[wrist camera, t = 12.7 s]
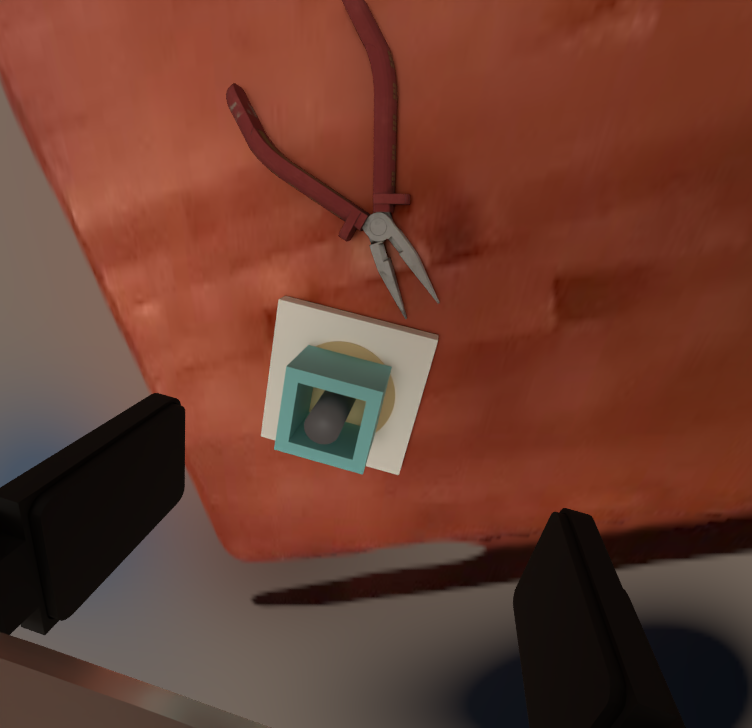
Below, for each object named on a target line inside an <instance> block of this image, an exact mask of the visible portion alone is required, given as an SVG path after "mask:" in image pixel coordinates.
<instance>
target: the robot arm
mask: <svg viewBox="0 0 752 728" xmlns="http://www.w3.org/2000/svg"><path fill="white" fill-rule="evenodd" d="M184 483H185V409H184V407H183V406H181V404H180V401H179V400H178V399H177V398H173V397H169V396H166V395H162V394H159V393H154V394H151V395H150V396H148V397H146V398H145V399H143V400H141V401H140V402H138V403H137V404H135V405H133V406H132V407H130V408H129V409H127V410H125V411H124V412H122V413H120V414H119V415H117V416H116V417H114V418H112V419H111V420H109V421H107V422H106V423H104V424H103V425H101V426H99V427H98V428H96V429H95V430H93V431H92V432H90V433H88V434H86V435H85V436H83V437H82V438H80V439H78V440H77V441H75V442H73V443H72V444H70V445H69V446H67V447H65V448H64V449H62V450H60V451H59V452H58V453H56V454H54V455H52V456H51V457H49V458H47V459H46V460H44V461H43V462H41V463H39V464H38V465H36V466H34V467H33V468H31V469H30V470H28V471H26V472H25V473H23V474H22V475H20V476H18V477H17V478H15V479H14V480H12V481H10V482H9V483H7V484H5V485H4V486H2V487H1V488H0V728H271V727H268V726H265V725H262V724H260V723H257V722H254V721H251V720H248V719H246V718H243V717H240V716H237V715H234V714H231V713H229V712H226V711H223V710H220V709H218V708H215V707H212V706H209V705H207V704H204V703H201V702H198V701H196V700H193V699H190V698H187V697H184V696H182V695H179V694H176V693H173V692H170V691H167V690H165V689H162V688H159V687H157V686H154V685H151V684H148V683H145V682H142V681H140V680H137V679H134V678H131V677H128V676H125V675H123V674H120V673H117V672H114V671H111V670H108V669H106V668H103V667H100V666H97V665H94V664H92V663H89V662H86V661H83V660H80V659H77V658H75V657H72V656H69V655H66V654H63V653H60V652H57V651H55V650H52V649H49V648H46V647H44V646H40V645H38V644H35V643H32V642H28V641H25V640H22V639H19V638H16V637H13V636H10V634H11V633H12V632H13V631H14V630H15V629H16V628H17V627H18V626H19V625H20V624H21V627H23V628H26V629H29V630H31V631H34V632H37V633H40V634H43V635H46V634H47V633H48V631H49V630H50V629H51V628H52V627H53V626H54V625H55V624H56V623H57V622H58V621H59V620H61V621H62V620H66V619H67V618H69V617H70V616H71V615H72V614H73V613H74V612H75V611H76V610H77V609H78V608H79V607H80V606H81V605H82V604H83V603H84V602H85V601H86V600H87V599H88V597H89V596H90V595H91V594H92V593H93V592H94V591H95V590H96V589H97V588H98V587H99V586H100V585H101V584H102V583H103V582H104V581H105V579H106V578H107V577H108V576H109V575H110V574H111V573H112V572H113V571H114V570H115V569H116V568H117V567H118V566H119V565H120V563H121V562H122V561H123V560H124V559H125V558H126V557H127V556H128V555H129V554H130V553H131V552H132V551H133V550H134V549H135V548H136V547H137V545H138V544H139V543H140V542H141V541H142V540H143V539H144V538H145V537H146V536H147V535H148V534H149V533H150V532H151V531H152V529H154V527H155V526H156V525H157V524H158V523H159V522H160V521H161V520H162V519H163V518H164V517H165V516H166V515H167V514H168V513H169V511H170V510H171V509H172V508H173V507H174V506H175V505H176V504H177V503H178V502H179V500H180V499H181V497H182V495H183V492H184V487H185V484H184ZM513 608H514V616H515V623H516V630H517V638H518V645H519V653H520V660H521V667H522V675H523V682H524V690H525V697H526V704H527V712H528V719H529V726H530V728H686V727H685V725H684V723H683V721H682V718H681V716H680V713H679V711H678V709H677V707H676V704H675V702H674V700H673V698H672V695H671V693H670V690H669V688H668V686H667V683H666V681H665V679H664V677H663V674H662V672H661V670H660V668H659V665H658V663H657V660H656V658H655V656H654V653H653V651H652V649H651V646H650V644H649V642H648V640H647V637H646V635H645V633H644V630H643V628H642V626H641V623H640V621H639V619H638V617H637V614H636V612H635V610H634V607H633V605H632V603H631V600H630V598H629V596H628V594H627V593H626V591H625V590H624V589H623V588H622V585H621V583H620V581H619V578H618V576H617V573H616V571H615V569H614V566H613V564H612V562H611V559H610V557H609V555H608V552H607V550H606V548H605V545H604V543H603V541H602V538H601V536H600V534H599V531H598V529H597V526H596V524H595V522H594V520H593V518H592V516H590V515H588V514H585V513H581V512H578V511H574V510H571V509H567V508H563V509H562V510H561V511H560V512H559V513H558V512H553V513H552V514H551V516H550V518H549V520H548V522H547V524H546V526H545V528H544V530H543V533H542V535H541V537H540V539H539V541H538V543H537V545H536V547H535V549H534V551H533V553H532V555H531V558H530V560H529V562H528V564H527V566H526V568H525V570H524V572H523V574H522V576H521V578H520V580H519V583H518V585H517V587H516V589H515V592H514V597H513Z"/></svg>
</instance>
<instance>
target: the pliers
mask: <svg viewBox="0 0 752 728" xmlns="http://www.w3.org/2000/svg"><path fill="white" fill-rule="evenodd" d="M342 2H343V4H344V6H345V8H346V10H347V12H348V14H349V16H350V18H351V20H352V22H353V24H354V26H355V29H356V31H357V33H358V35H359V36H360V38H361V40H362V42H363V44H364V46H365V48H366V51H367V53H368V56H369V60H370V63H371V68H372V73H373V81H374V180H373V212H377V213H373V214H371V215H370V214H369V213H367V212H366V211H364V210H363V209H361V208H360V207H358V206H357V205H355V204H354V203H352V202H351V201H349V200H348V199H347V198H345V197H344V196H342V195H341V194H339V193H338V192H336V191H335V190H333V189H332V188H330V187H329V186H327V185H326V184H324V183H323V182H321V181H320V180H318V179H317V178H315V177H314V176H312V175H311V174H309V173H308V172H306V171H305V170H303V169H302V168H300V167H299V166H297V165H296V164H294V163H293V162H292V161H290V160H289V159H288V158H287V157H285V156H284V155H283V154H282V153H281V152H280V151H279V150H278V149H277V148H276V147H275V146H274V144H273V143H272V142H271V141H270V139H269V138H268V136H267V134H266V133H265V131H264V129H263V127H262V125H261V123H260V121H259V119H258V117H257V115H256V113H255V111H254V109H253V107H252V106H251V104H250V102H249V100H248V98H247V96H246V94H245V92H244V90H243V89H242V88H241V87H240V86H238V85H237V84H235V83H234V84H232V85H231V86H230V87H229V88H228V90H227V93H226V99H227V104H228V107H229V109H230V111H231V113H232V115H233V116H234V118H235V120H236V122H237V124H238V126H239V128H240V130H241V132H242V134H243V136H244V138H245V140H246V142H247V144H248V146H249V148H250V150H251V151H252V152H253V153H254V155H255V156H256V157H257V158H258V159H259V160H260V161H261V162H262V163H263V164H264V165H265V166H266V167H267V168H268V169H269V170H270V171H271V172H273V173H274V174H275V175H277V176H278V177H279V178H281V179H282V180H284V181H285V182H287V183H288V184H290V185H291V186H293V187H294V188H296V189H297V190H299V191H300V192H302V193H303V194H305V195H306V196H308V197H309V198H311V199H312V200H314V201H315V202H317V203H318V204H320V205H321V206H323V207H324V208H326V209H327V210H329V211H330V212H331V213H333V214H334V215H336V216H337V217H339V218H340V219H342V220H343V221H345V223H344V225H343V227H342V228H341V230H340V232H339V237H340V238H342V239H343V240H345V241H349V240H351V238H352V236H353V234H354V233H355V231H356V229H358V230H360V231H363V230H364V232H365V233H366V234H367V235H368V237H369V239H370V242H371V245H370V249H371V252H372V255H373V258H374V261H375V264H376V267H377V269H378V272H379V274H380V276H381V277H382V279H383V281H384V283H385V284H386V286H387V288H388V290H389V291H390V293H391V295H392V297H393V298H394V300H395V302H396V304H397V305H398V307H399V309H400V311H401V312H402V314H403V316H404V317H405V319H407V316H406V312H405V308H404V305H403V301H402V298H401V294H400V290H399V287H398V283H397V279H396V276H395V272H394V269H393V265H392V262H391V258H387V254H386V251H385V247H384V244H383V242H384V241H385V240H386V239H389V240H390V242H391V243H392V244H393V246H394V247H395V248H396V249H397V251H398V252H399V253H400V254H399V255H400V256H401V257H402V259H403V260H404V261H405V262H406V264H407V265H408V266H409V268H410V269H411V270H412V271H413V273H414V274H415V275H416V276H417V278H418V279H419V280H420V282H421V283H422V284H423V285H424V287H425V288H426V289H427V290H428V292H429V293H430V294H431V295H432V297H433V298H434V299H435V300H436V302H437V303H438V304H439V303H440V302H439V300H438V298H437V295H436V293H435V291H434V289H433V286H432V284H431V282H430V280H429V278H428V275H427V273H426V271H425V269H424V266H423V264H422V262H421V260H420V257H419V255H418V253H417V252H416V250H415V249H414V247H413V246H412V245H411V243H410V242H409V240H408V239H407V238H406V236H405V235H404V234H403V232H402V231H401V230H400V229H398V227H397V226H396V225H395V223H394V222H393V219H392V216H391V212H393V207H394V204H399V205H410V195H409V194H395V164H396V125H397V84H396V74H395V67H394V62H393V59H392V55H391V51H390V49H389V47H388V45H387V43H386V41H385V39H384V37H383V35H382V33H381V31H380V29H379V27H378V25H377V23H376V21H375V19H374V17H373V15H372V13H371V11H370V9H369V7H368V5H367V3H366V2H365V1H364V0H342Z"/></svg>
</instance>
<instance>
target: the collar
mask: <svg viewBox="0 0 752 728" xmlns="http://www.w3.org/2000/svg"><path fill="white" fill-rule="evenodd" d="M391 369H392V367H391V366H387V365H383V364H379V363H375V362H372V361H368V360H364V359H360V358H356V357H353V356H349V355H345V354H341V353H337V352H334V351H330V350H326V349H322V348H319V347H315V346H311V345H308V346H307V347H306V348H305V349H304V350H303V351H302V352H300V353H299V354H298V355H297V356H296V357H295V358H294V359H293V360H292V361H291V362H290V363H289V364H288V365H287V366H286V372H285V378H284V385H283V392H282V399H281V406H280V413H279V420H278V426H277V433H276V440H275V447H274V449H275V450H278V451H282V452H285V453H289V454H292V455H296V456H299V457H303V458H306V459H310V460H313V461H317V462H320V463H324V464H328V465H331V466H335V467H338V468H342V469H345V470H349V471H352V472H356V473H359V474H363V472H364V469H365V466H366V462H367V459H368V456H369V453H370V449H371V446H372V443H373V440H374V436H375V432H376V428H377V424H378V420H379V416H380V412H381V408H382V404H383V400H384V396H385V392H386V388H387V384H388V380H389V376H390V373H391ZM313 387H315V388H319V389H323V390H326V391H330V392H334V393H337V394H341V395H345V396H349V397H352V398H356V399H360V400H363V401H366V405H365V409H364V413H363V418H362V422H361V426H359V425H355V424H352V423H348V422H345V424H344V426H343V428H342V430H341V432H340V434H339V436H338V438H337V439H336V440H335V441H334V442H332V443H330V444H318V443H316V442H314V441H312V440H311V439H310V438H309V437H308V436H307V435H306V433H305V430H304V422H305V419H306V418H307V416H308V415H309V413H310V412H309V408H310V403H311V397H312V391H313Z"/></svg>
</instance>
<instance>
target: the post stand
mask: <svg viewBox="0 0 752 728" xmlns="http://www.w3.org/2000/svg"><path fill="white" fill-rule="evenodd" d="M437 343H438V335H436V334H432V333H428V332H425V331H421V330H417V329H413V328H409V327H405V326H401V325H397V324H393V323H390V322H386V321H382V320H378V319H374V318H370V317H366V316H362V315H359V314H355V313H351V312H347V311H343V310H339V309H335V308H331V307H327V306H324V305H320V304H316V303H312V302H308V301H304V300H300V299H296V298H292V297H289V296H284V297H282V298H280V299H279V301H278V309H277V317H276V324H275V332H274V340H273V347H272V355H271V363H270V370H269V378H268V386H267V393H266V401H265V409H264V416H263V424H262V432H261V436H262V437H265V438H269V439H272V440H276V433H277V426H278V420H279V413H280V406H281V399H282V392H283V385H284V378H285V372H286V366H287V365H288V364H289V363H290V362H291V361H292V360H293V359H294V358H295V357H296V356H297V355H298V354H299V353H300V352H302V351H303V350H304V349H305V348H306V347H307V346H308V345H311V346H315V347H319V348H322V349H326V350H330V351H334V352H337V353H341V354H345V355H349V356H353V357H356V358H360V359H364V360H368V361H372V362H375V363H379V364H383V365H387V366H391V367H392V369H391V373H390V376H389V380H388V384H387V388H386V392H385V396H384V400H383V404H382V408H381V412H380V416H379V420H378V424H377V428H376V432H375V436H374V440H373V443H372V446H371V449H370V453H369V456H368V459H367V462H366V466H368V467H371V468H375V469H379V470H382V471H386V472H389V473H393V474H396V475H399V472H400V469H401V466H402V462H403V459H404V455H405V452H406V448H407V445H408V442H409V438H410V435H411V431H412V428H413V425H414V421H415V418H416V414H417V411H418V408H419V404H420V401H421V397H422V394H423V390H424V387H425V384H426V380H427V377H428V373H429V370H430V367H431V363H432V360H433V356H434V353H435V350H436V346H437ZM365 405H366V401H363V400H360V399H356V398H352V397H349V396H345V395H341V394H337V393H334V392H330V391H326V390H323V389H319V388H315V387H313V391H312V397H311V403H310V408H309V412H310V413H309V415H308V416H307V418H306V419H305V422H304V430H305V433H306V435H307V436H308V437H309V438H310V439H311V440H312V441H314V442H316V443H318V444H330V443H332V442H334V441H335V440H336V439H337V438H338V436H339V434H340V432H341V430H342V428H343V426H344V424H345V422H348V423H352V424H355V425H359V426H361V422H362V418H363V413H364V409H365Z"/></svg>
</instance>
